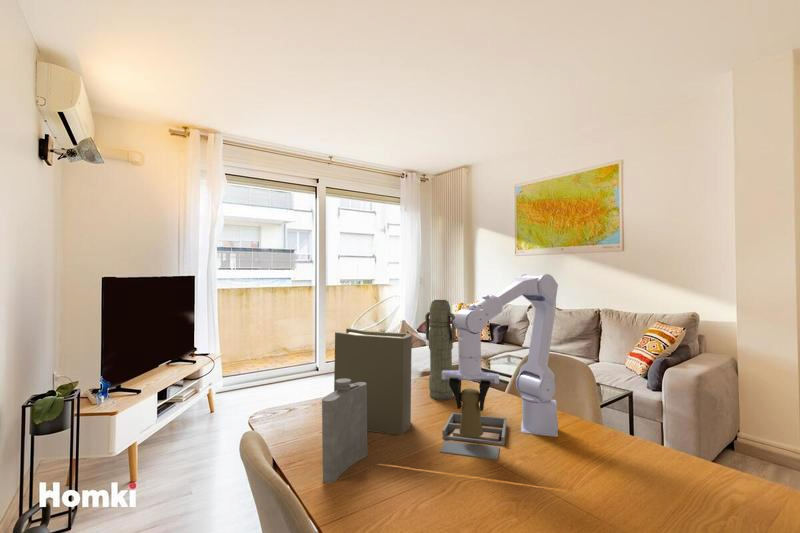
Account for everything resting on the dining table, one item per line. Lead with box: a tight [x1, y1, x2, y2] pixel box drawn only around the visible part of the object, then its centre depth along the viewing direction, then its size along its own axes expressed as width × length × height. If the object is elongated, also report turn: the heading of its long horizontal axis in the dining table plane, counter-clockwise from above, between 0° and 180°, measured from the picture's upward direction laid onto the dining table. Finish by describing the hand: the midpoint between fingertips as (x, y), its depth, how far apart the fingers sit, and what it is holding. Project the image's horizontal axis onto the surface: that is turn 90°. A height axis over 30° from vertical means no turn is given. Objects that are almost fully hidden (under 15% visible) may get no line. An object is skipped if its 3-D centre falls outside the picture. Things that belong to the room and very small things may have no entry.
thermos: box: [424, 299, 457, 401], centre depth 142 cm, size 9×12×35 cm
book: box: [333, 327, 413, 436], centre depth 115 cm, size 22×9×28 cm, turn 74°
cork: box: [459, 388, 483, 437], centre depth 101 cm, size 6×6×11 cm
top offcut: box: [453, 428, 501, 442], centre depth 105 cm, size 12×4×1 cm, turn 68°
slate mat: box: [439, 440, 500, 461], centre depth 97 cm, size 14×6×1 cm, turn 72°
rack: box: [441, 412, 508, 446], centre depth 109 cm, size 16×14×2 cm
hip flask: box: [321, 378, 368, 484], centre depth 91 cm, size 16×4×20 cm, turn 154°
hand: (470, 408), depth 100 cm, fingers closed on cork, 5 cm apart
